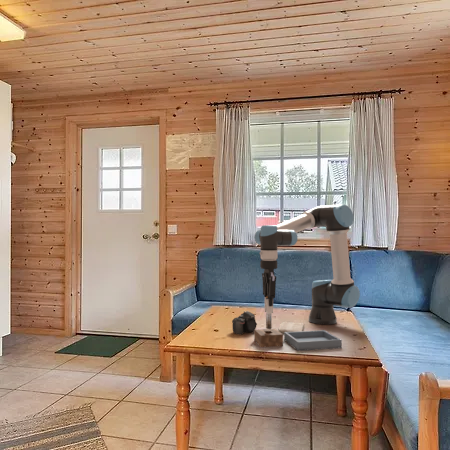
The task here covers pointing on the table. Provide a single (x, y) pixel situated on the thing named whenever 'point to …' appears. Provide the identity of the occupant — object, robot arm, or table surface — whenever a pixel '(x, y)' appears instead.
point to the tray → (312, 340)
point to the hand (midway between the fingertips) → (268, 312)
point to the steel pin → (268, 319)
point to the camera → (244, 323)
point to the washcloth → (290, 327)
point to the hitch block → (268, 337)
